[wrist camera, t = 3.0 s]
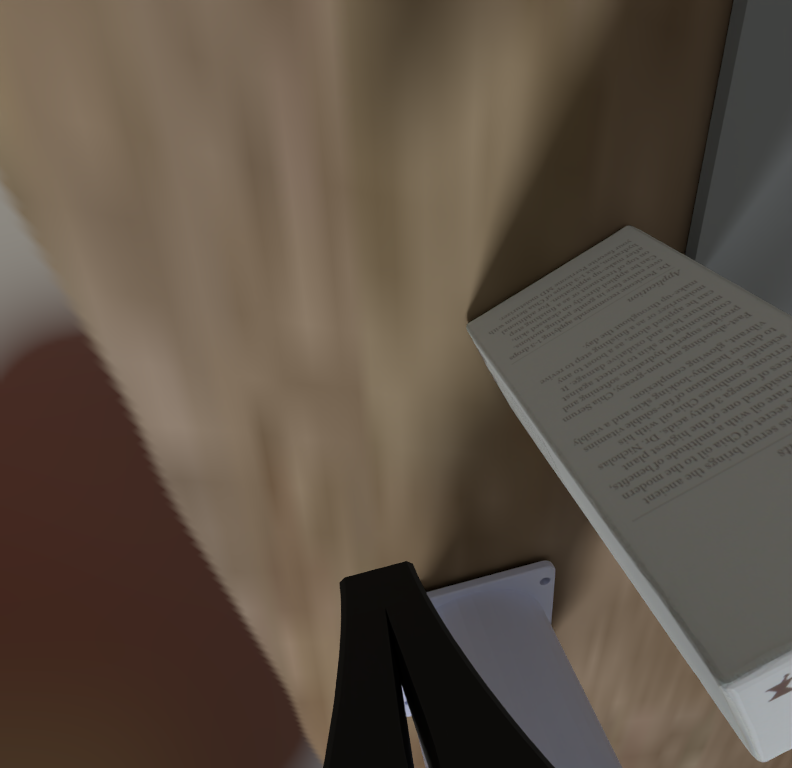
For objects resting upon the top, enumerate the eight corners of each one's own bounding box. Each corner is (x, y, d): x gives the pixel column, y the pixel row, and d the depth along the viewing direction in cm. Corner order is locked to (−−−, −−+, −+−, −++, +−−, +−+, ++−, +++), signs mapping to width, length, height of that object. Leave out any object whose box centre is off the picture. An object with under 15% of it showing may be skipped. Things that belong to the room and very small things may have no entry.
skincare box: (509, 408, 21) (751, 774, 11) (460, 321, 18) (717, 694, 8) (662, 318, 20) (1066, 624, 10) (633, 216, 17) (1128, 490, 8)
